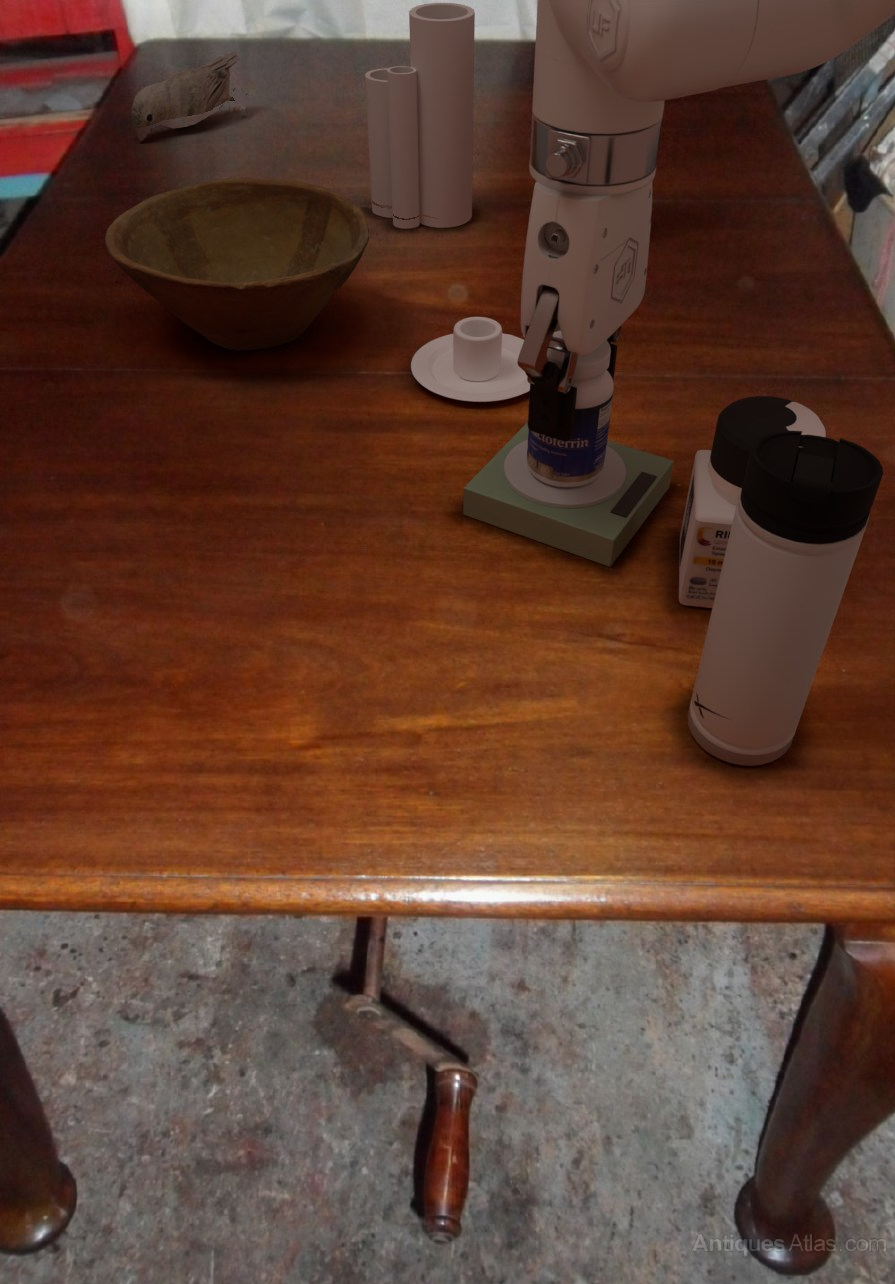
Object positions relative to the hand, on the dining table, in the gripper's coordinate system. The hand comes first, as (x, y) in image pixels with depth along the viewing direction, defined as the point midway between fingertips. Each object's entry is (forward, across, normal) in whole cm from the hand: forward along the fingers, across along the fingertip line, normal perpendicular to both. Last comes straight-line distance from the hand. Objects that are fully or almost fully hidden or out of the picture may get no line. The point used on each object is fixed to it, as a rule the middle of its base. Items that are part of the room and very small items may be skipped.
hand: (570, 410), depth 75 cm
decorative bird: (+8, +48, +77) cm, 91 cm away
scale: (+8, 0, 0) cm, 8 cm away
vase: (+8, +39, +37) cm, 54 cm away
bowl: (+8, +9, +37) cm, 39 cm away
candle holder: (+8, +13, +15) cm, 21 cm away
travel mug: (+8, -15, -19) cm, 26 cm away
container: (+8, -2, -14) cm, 16 cm away
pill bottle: (+5, 0, 0) cm, 5 cm away
